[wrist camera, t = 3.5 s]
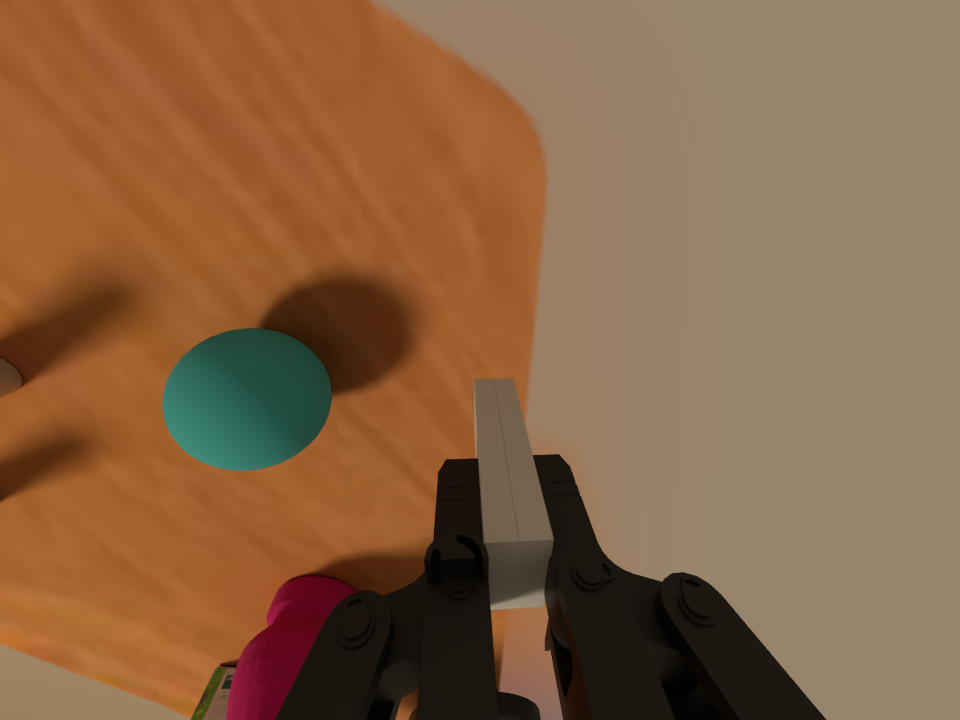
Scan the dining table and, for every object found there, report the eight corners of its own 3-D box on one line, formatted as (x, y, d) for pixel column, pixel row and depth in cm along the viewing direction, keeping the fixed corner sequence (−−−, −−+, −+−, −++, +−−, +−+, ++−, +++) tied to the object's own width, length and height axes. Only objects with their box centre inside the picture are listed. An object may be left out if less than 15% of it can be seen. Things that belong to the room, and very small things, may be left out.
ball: (356, 410, 19) (317, 499, 14) (245, 414, 19) (162, 506, 14) (334, 307, 16) (275, 369, 11) (203, 309, 16) (78, 375, 11)
